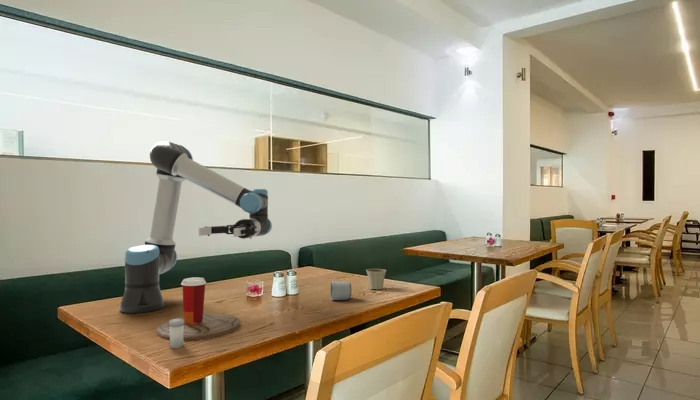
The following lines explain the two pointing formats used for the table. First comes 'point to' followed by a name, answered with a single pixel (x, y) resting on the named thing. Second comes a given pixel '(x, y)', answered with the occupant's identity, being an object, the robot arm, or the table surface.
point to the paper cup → (193, 299)
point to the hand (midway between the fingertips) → (216, 232)
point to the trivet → (204, 327)
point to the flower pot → (376, 278)
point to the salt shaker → (176, 333)
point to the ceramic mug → (340, 290)
